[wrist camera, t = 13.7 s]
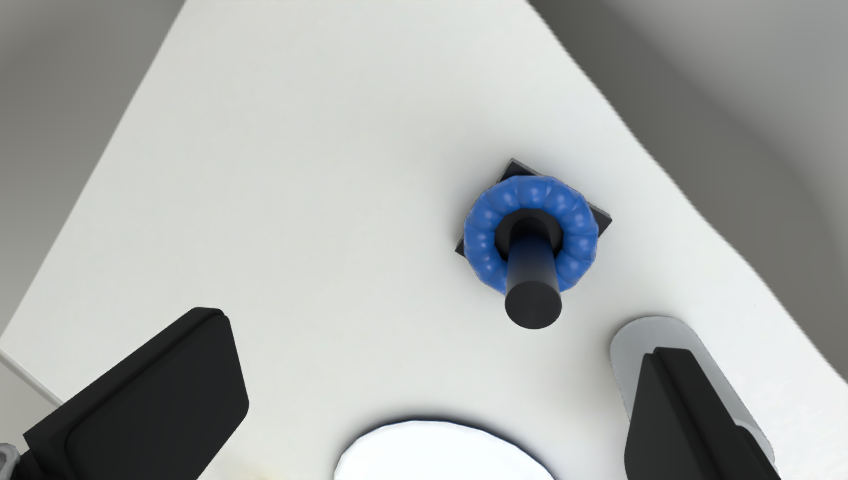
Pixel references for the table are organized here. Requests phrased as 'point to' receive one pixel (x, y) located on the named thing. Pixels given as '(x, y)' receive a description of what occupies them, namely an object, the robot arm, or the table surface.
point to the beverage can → (674, 334)
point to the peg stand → (532, 258)
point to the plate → (436, 454)
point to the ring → (531, 195)
